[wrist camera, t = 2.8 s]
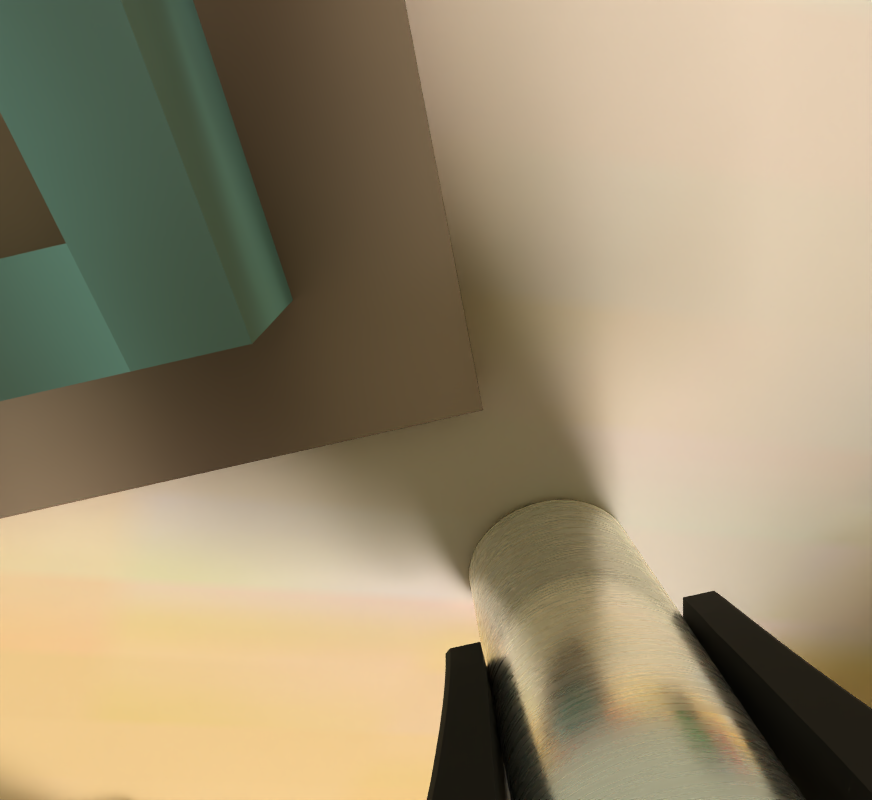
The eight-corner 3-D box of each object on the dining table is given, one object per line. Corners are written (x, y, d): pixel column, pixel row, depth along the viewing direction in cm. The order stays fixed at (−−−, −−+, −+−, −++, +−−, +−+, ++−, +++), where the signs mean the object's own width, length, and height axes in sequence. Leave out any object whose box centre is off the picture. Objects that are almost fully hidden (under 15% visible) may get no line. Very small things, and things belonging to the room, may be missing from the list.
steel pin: (484, 641, 13) (602, 1249, 5) (454, 521, 11) (568, 1155, 4) (633, 609, 13) (957, 1179, 5) (625, 483, 11) (1073, 1051, 4)
